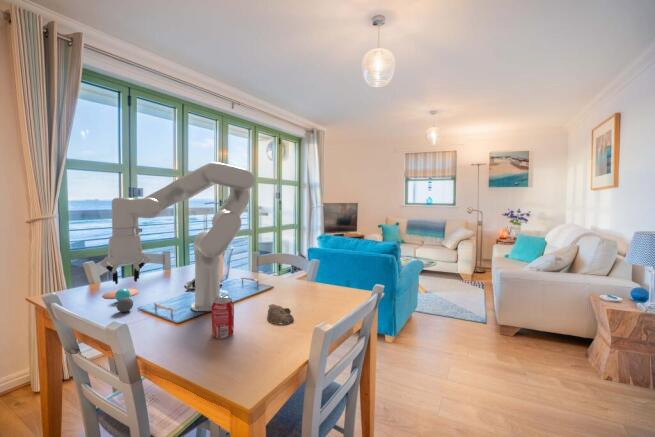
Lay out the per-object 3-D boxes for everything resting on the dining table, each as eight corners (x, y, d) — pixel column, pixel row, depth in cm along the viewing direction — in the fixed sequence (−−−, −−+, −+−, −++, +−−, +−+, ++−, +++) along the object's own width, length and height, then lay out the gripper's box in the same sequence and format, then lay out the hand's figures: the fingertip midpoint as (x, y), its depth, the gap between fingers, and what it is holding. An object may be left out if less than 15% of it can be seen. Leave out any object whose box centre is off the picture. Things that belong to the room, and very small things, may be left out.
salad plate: (178, 284, 158) (177, 275, 157) (212, 279, 169) (212, 271, 169) (188, 294, 143) (188, 284, 142) (225, 287, 154) (225, 278, 154)
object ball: (133, 299, 132) (132, 286, 132) (126, 303, 127) (126, 290, 127) (119, 299, 132) (119, 286, 131) (112, 303, 126) (111, 290, 126)
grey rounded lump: (136, 308, 121) (135, 295, 121) (128, 314, 116) (128, 300, 116) (121, 309, 121) (121, 295, 120) (113, 314, 115) (113, 300, 115)
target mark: (144, 289, 147) (144, 288, 147) (129, 298, 133) (129, 298, 133) (113, 289, 145) (113, 288, 145) (95, 299, 131) (95, 298, 131)
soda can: (226, 328, 106) (226, 295, 105) (238, 334, 101) (238, 299, 100) (207, 335, 100) (207, 300, 99) (219, 342, 96) (219, 305, 95)
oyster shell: (269, 327, 108) (270, 314, 108) (264, 314, 120) (264, 302, 120) (295, 324, 112) (296, 311, 111) (288, 312, 123) (288, 300, 123)
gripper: (151, 230, 116) (151, 276, 117) (95, 232, 106) (96, 283, 107) (153, 232, 110) (154, 281, 111) (94, 234, 100) (96, 288, 101)
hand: (126, 281), depth 109 cm, fingers open, 5 cm apart
